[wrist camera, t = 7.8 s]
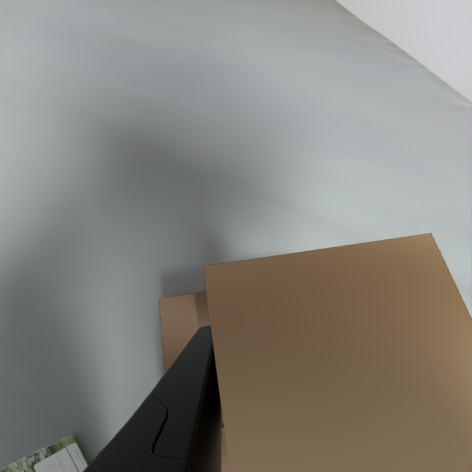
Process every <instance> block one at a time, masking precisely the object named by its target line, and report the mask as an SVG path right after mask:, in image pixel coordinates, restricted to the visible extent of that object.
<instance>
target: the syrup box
mask: <svg viewBox="0 0 472 472" xmlns="http://www.w3.org/2000/svg"><path fill="white" fill-rule="evenodd" d="M88 465H89V464H88V462H87V461H86V459H85V457H84V455H83V453H82V451H81V449H80V447H79V444H78V443H77V441H76V439H75V438H74V436H73V435H69V436H67V437H65V438H63V439H61V440H59V441H57V442H55V443H53V444H51V445H49V446H46V447H44V448H42V449H40V450H38V451H36V452H34V453H32V454H30V455H28V456H26V457H24V458H22V459H20V460H18V461H16V462H13V463H12V464H10V465H7V466H5V467H3V468H1V469H0V472H83V471H84V469H85V468H86V467H87V466H88Z"/></svg>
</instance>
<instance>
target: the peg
mask: <svg viewBox="0 0 472 472" xmlns="http://www.w3.org/2000/svg"><path fill="white" fill-rule="evenodd" d="M203 271H204V279H205V286H206V294H207V301H208V309H209V317H210V324H211V332H212V339H213V347H214V354H215V362H216V369H217V377H218V385H219V392H220V400H221V407H222V415H223V422H224V430H225V438H226V445H227V453H228V460H229V468H230V472H472V318H471V316H470V314H469V312H468V310H467V307H466V305H465V303H464V301H463V299H462V297H461V295H460V293H459V290H458V288H457V286H456V284H455V282H454V280H453V278H452V276H451V274H450V271H449V269H448V267H447V265H446V263H445V261H444V259H443V257H442V255H441V252H440V250H439V248H438V246H437V244H436V242H435V240H434V238H433V236H432V233H428V234H421V235H414V236H408V237H401V238H394V239H387V240H380V241H373V242H366V243H359V244H353V245H346V246H339V247H332V248H325V249H318V250H311V251H304V252H298V253H291V254H284V255H277V256H270V257H263V258H256V259H249V260H243V261H236V262H229V263H222V264H215V265H208V266H203Z"/></svg>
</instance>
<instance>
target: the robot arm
mask: <svg viewBox="0 0 472 472" xmlns="http://www.w3.org/2000/svg"><path fill="white" fill-rule="evenodd" d="M221 456H222V407H221V400H220V392H219V385H218V377H217V369H216V362H215V354H214V347H213V339H212V332H211V325H208V326H202V327H200V328H199V329H198V330H197V331H196V333H195V334H194V335H193V337H192V338H191V339H190V341H189V342H188V343H187V345H186V346H185V347H184V349H183V350H182V351H181V353H180V354H179V355H178V357H177V358H176V359H175V361H174V362H173V363H172V365H171V366H170V367H169V369H168V370H167V372H166V373H165V374H164V376H163V377H162V378H161V380H160V381H159V382H158V384H157V385H156V386H155V388H154V389H153V390H152V392H151V393H150V394H149V395H148V396H147V398H146V399H145V400H144V402H143V403H142V404H141V406H140V407H139V408H138V409H137V411H136V412H135V413H134V414H133V416H132V417H131V418H130V419H129V421H128V422H127V423H126V424H125V425H124V426H123V427H122V429H121V430H120V431H119V432H118V433H117V434H116V435H115V437H114V438H113V439H112V440H111V441H110V442H109V443H108V444H107V445H106V446H105V448H104V449H103V450H102V451H101V452H100V453H99V454H98V455H97V456H96V457H95V458H94V460H93V461H92V462H91V463H90V464H89V465H88V466H87V467H86V468H85V469H84V471H83V472H221Z"/></svg>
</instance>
